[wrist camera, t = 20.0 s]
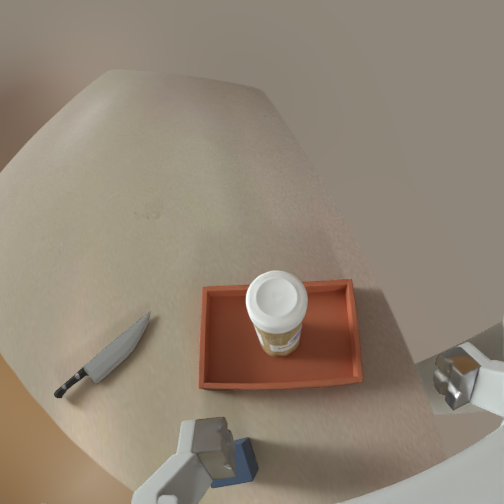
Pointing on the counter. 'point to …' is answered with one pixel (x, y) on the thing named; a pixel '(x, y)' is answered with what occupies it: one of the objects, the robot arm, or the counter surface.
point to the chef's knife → (109, 356)
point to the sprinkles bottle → (277, 311)
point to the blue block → (241, 465)
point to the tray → (279, 368)
